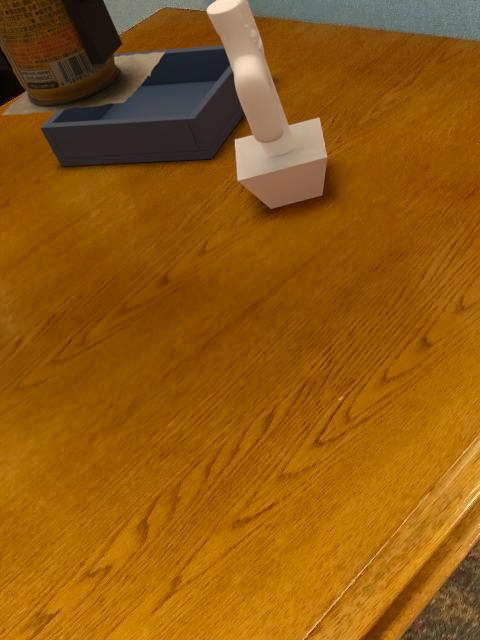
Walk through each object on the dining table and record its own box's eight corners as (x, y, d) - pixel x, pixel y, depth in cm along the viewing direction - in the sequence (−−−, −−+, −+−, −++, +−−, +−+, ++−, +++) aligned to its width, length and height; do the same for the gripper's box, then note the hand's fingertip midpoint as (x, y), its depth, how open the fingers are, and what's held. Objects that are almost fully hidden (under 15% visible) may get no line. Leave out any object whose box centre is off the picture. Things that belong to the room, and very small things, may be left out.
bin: (61, 166, 93) (39, 127, 90) (129, 91, 102) (112, 53, 99) (211, 159, 89) (194, 118, 86) (268, 81, 98) (255, 42, 96)
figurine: (255, 229, 80) (176, 37, 69) (250, 174, 86) (177, -10, 75) (342, 205, 80) (278, 11, 69) (331, 152, 87) (270, -34, 75)
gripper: (30, -493, 47) (218, 21, 64) (-293, -426, 51) (-34, 39, 68) (-60, -472, 42) (170, 77, 59) (-406, -400, 46) (-97, 93, 63)
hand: (61, 56), depth 64 cm, fingers closed on condiment, 6 cm apart
